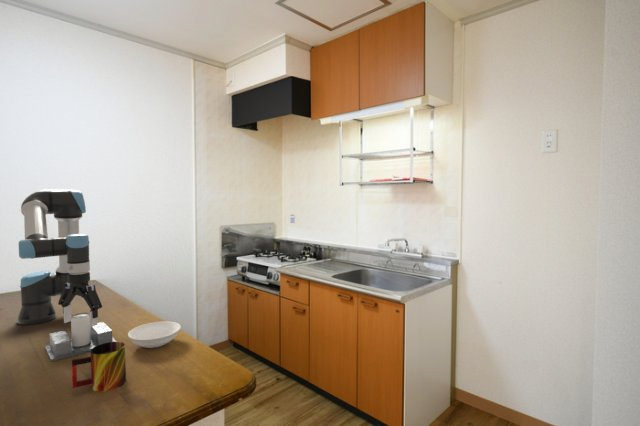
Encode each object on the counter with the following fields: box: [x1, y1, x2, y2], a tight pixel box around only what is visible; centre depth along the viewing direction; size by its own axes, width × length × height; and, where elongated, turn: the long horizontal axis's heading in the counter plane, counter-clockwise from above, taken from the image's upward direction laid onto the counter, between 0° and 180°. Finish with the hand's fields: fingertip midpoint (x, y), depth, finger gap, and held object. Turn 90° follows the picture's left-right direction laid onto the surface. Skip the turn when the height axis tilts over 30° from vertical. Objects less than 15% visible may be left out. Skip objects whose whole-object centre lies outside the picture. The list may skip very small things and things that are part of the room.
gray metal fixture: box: [44, 321, 118, 362], centre depth 144 cm, size 16×22×6 cm
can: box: [70, 312, 91, 347], centre depth 144 cm, size 6×6×12 cm
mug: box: [71, 341, 127, 393], centre depth 114 cm, size 10×14×12 cm
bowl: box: [127, 320, 182, 349], centre depth 145 cm, size 20×20×6 cm
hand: (80, 323), depth 144 cm, fingers open, 13 cm apart
